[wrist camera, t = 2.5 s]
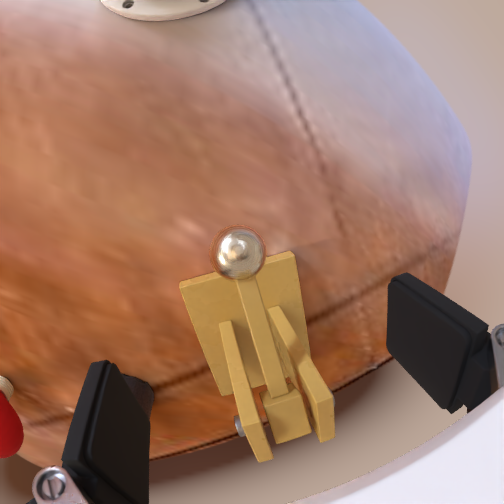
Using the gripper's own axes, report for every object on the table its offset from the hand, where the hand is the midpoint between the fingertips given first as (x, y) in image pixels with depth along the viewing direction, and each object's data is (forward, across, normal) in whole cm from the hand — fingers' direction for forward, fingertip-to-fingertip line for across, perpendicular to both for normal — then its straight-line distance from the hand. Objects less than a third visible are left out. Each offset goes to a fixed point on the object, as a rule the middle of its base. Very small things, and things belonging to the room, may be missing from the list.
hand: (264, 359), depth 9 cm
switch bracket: (+14, -1, +8) cm, 17 cm away
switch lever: (+8, -1, +5) cm, 9 cm away
